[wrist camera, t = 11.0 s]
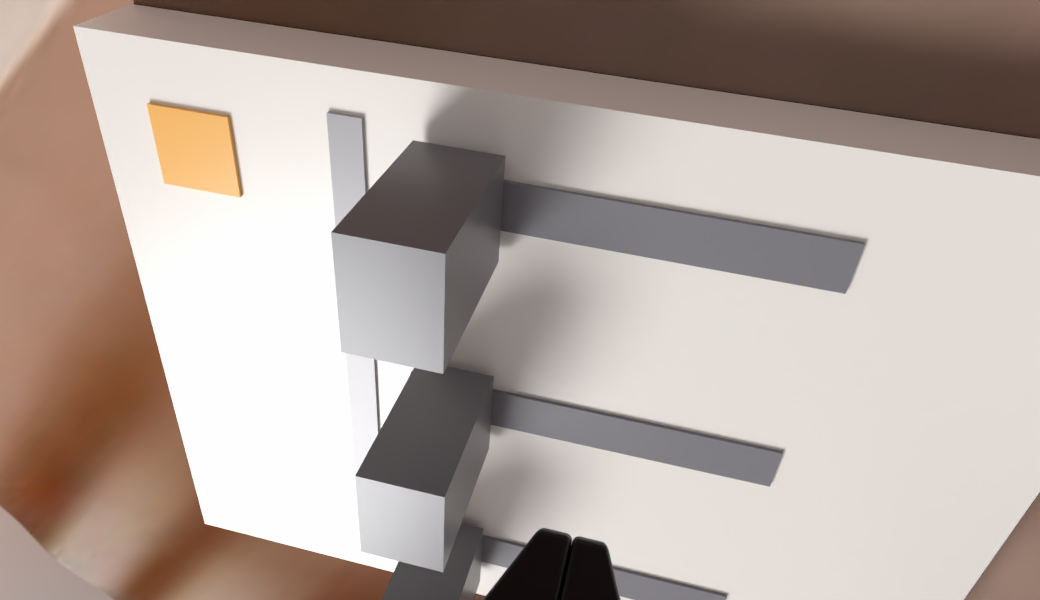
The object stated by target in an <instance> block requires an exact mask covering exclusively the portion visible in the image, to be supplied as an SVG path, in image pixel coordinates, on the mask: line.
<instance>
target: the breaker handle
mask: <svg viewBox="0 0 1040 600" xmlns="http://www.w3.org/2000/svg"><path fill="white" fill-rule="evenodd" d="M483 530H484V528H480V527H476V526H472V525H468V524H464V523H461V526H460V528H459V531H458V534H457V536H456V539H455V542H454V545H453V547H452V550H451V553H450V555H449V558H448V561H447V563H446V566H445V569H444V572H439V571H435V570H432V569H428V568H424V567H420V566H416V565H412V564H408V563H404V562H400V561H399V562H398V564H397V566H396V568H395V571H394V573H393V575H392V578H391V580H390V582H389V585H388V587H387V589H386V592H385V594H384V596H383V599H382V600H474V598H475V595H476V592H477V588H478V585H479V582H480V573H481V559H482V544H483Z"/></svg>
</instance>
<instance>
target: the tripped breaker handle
mask: <svg viewBox="0 0 1040 600" xmlns="http://www.w3.org/2000/svg"><path fill="white" fill-rule="evenodd" d="M504 170H505V156H503V155H497V154H492V153H486V152H480V151H474V150H468V149H462V148H456V147H450V146H444V145H438V144H432V143H426V142H420V141H414V140H413V141H412V142H411V143H410V144H409V145H408V146H407V148H406V149H405V150H404V151H403V152H402V153H401V154H400V155H399V157H398V158H397V159H396V160H395V161H394V162H393V163H392V164H391V166H390V167H389V168H388V169H387V170H386V171H385V172H384V173H383V175H382V176H381V177H380V178H379V179H378V180H377V181H376V182H375V183H374V185H373V186H372V187H371V188H370V189H369V190H368V191H367V192H366V194H365V195H364V196H363V197H362V198H361V199H360V200H359V201H358V203H357V204H356V205H355V206H354V207H353V208H352V209H351V210H350V211H349V213H348V214H347V215H346V216H345V217H344V218H343V219H342V220H341V222H340V223H339V224H338V225H337V226H336V227H335V228H334V229H333V231H332V232H331V238H332V250H333V261H334V273H335V285H336V297H337V309H338V320H339V332H340V344H341V352H343V353H348V354H352V355H357V356H362V357H366V358H371V359H376V360H380V361H385V362H390V363H394V364H399V365H404V366H408V367H413V368H418V369H422V370H427V371H432V372H436V373H441V374H444V372H445V370H446V368H447V366H448V364H449V361H450V359H451V357H452V355H453V353H454V351H455V349H456V347H457V345H458V343H459V341H460V339H461V337H462V335H463V333H464V331H465V329H466V327H467V325H468V323H469V321H470V319H471V317H472V315H473V313H474V311H475V309H476V307H477V305H478V303H479V301H480V299H481V297H482V295H483V293H484V290H485V288H486V286H487V284H488V282H489V280H490V278H491V276H492V274H493V272H494V270H495V268H496V266H497V264H498V262H499V247H500V231H501V216H502V201H503V185H504Z"/></svg>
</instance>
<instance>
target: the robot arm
mask: <svg viewBox="0 0 1040 600" xmlns="http://www.w3.org/2000/svg"><path fill="white" fill-rule="evenodd" d="M483 600H621V599H620V595H619V591H618V586H617V582H616V578H615V574H614V570H613V565H612V561H611V557H610V553H609V549H608V547H607V545H606V544H605V543H604V542H602V541H598V540H594V539H590V538H585V537H581V536H577V537H575V538H574V539H573V541H572V537H571V536H570V535H569V534H568V533H564V532H560V531H556V530H552V529H548V528H541V529H539V530H538V531H537V532H536V533H535V534H534V535H533V537H532V538H531V539H530V540H529V542H528V543H527V544H526V545H525V547H524V548H523V549H522V550H521V552H520V553H519V554H518V556H517V557H516V558H515V559H514V561H513V562H512V563H511V564H510V566H509V567H508V568H507V570H506V571H505V572H504V573H503V575H502V576H501V577H500V578H499V580H498V581H497V582H496V583H495V585H494V586H493V587H492V589H491V590H490V591H489V592H488V594H487V595H486V596H485V597H484V599H483Z"/></svg>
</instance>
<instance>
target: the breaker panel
mask: <svg viewBox="0 0 1040 600" xmlns="http://www.w3.org/2000/svg"><path fill="white" fill-rule="evenodd" d="M73 27H74V31H75V35H76V39H77V42H78V46H79V50H80V54H81V57H82V61H83V65H84V69H85V73H86V76H87V80H88V84H89V88H90V91H91V95H92V99H93V103H94V107H95V110H96V114H97V118H98V122H99V125H100V129H101V133H102V137H103V141H104V144H105V148H106V152H107V156H108V159H109V163H110V167H111V171H112V175H113V178H114V182H115V186H116V190H117V193H118V197H119V201H120V205H121V209H122V212H123V216H124V220H125V224H126V227H127V231H128V235H129V239H130V243H131V246H132V250H133V254H134V258H135V261H136V265H137V269H138V273H139V277H140V280H141V284H142V288H143V292H144V295H145V299H146V303H147V307H148V311H149V314H150V318H151V322H152V326H153V329H154V333H155V337H156V341H157V345H158V348H159V352H160V356H161V360H162V363H163V367H164V371H165V375H166V379H167V382H168V386H169V390H170V394H171V397H172V401H173V405H174V409H175V413H176V416H177V420H178V424H179V428H180V431H181V435H182V439H183V443H184V447H185V450H186V454H187V458H188V462H189V465H190V469H191V473H192V477H193V481H194V484H195V488H196V492H197V496H198V499H199V503H200V507H201V511H202V515H203V518H204V522H205V524H209V525H212V526H216V527H220V528H224V529H228V530H232V531H236V532H240V533H244V534H247V535H251V536H255V537H259V538H263V539H267V540H271V541H275V542H279V543H282V544H286V545H290V546H294V547H298V548H302V549H306V550H310V551H314V552H317V553H321V554H325V555H329V556H333V557H337V558H341V559H345V560H348V561H352V562H356V563H360V564H364V565H368V566H372V567H376V568H380V569H383V570H387V571H391V572H394V571H395V568H396V566H397V564H398V562H399V561H396V560H392V559H388V558H384V557H380V556H377V555H373V554H369V553H365V552H361V544H360V532H359V520H358V507H357V495H356V483H355V475H356V473H357V471H358V470H359V468H360V466H361V464H362V462H363V460H364V459H365V457H366V455H367V453H368V451H369V449H370V448H371V446H372V444H373V442H374V440H375V438H376V437H377V435H378V433H379V431H380V429H381V427H382V426H383V424H384V422H385V420H386V418H387V417H388V415H389V413H390V411H391V409H392V407H393V406H394V404H395V402H396V400H397V398H398V396H399V395H400V393H401V391H402V389H403V387H404V385H405V384H406V382H407V380H408V378H409V376H410V375H411V373H412V371H413V369H414V368H413V367H408V366H404V365H399V364H394V363H390V362H385V361H380V360H376V359H371V358H366V357H362V356H357V355H352V354H348V353H343V352H341V344H340V332H339V320H338V309H337V297H336V285H335V273H334V261H333V250H332V238H331V232H332V231H333V229H334V228H335V227H336V226H337V225H338V224H339V223H340V222H341V220H342V219H343V218H344V217H345V216H346V215H347V214H348V213H349V211H350V210H351V209H352V208H353V207H354V206H355V205H356V204H357V203H358V201H359V200H360V199H361V198H362V197H363V196H364V195H365V194H366V192H367V191H368V190H369V189H370V188H371V187H372V186H373V185H374V183H375V182H376V181H377V180H378V179H379V178H380V177H381V176H382V175H383V173H384V172H385V171H386V170H387V169H388V168H389V167H390V166H391V164H392V163H393V162H394V161H395V160H396V159H397V158H398V157H399V155H400V154H401V153H402V152H403V151H404V150H405V149H406V148H407V146H408V145H409V144H410V143H411V142H412V141H413V140H414V141H420V142H426V143H432V144H438V145H444V146H450V147H456V148H462V149H468V150H474V151H480V152H486V153H492V154H497V155H503V156H505V170H504V185H503V201H502V216H501V231H500V247H499V262H498V264H497V266H496V268H495V270H494V272H493V274H492V276H491V278H490V280H489V282H488V284H487V286H486V288H485V290H484V293H483V295H482V297H481V299H480V301H479V303H478V305H477V307H476V309H475V311H474V313H473V315H472V317H471V319H470V321H469V323H468V325H467V327H466V329H465V331H464V333H463V335H462V337H461V339H460V341H459V343H458V345H457V347H456V349H455V351H454V353H453V355H452V357H451V359H450V361H449V364H448V367H452V368H457V369H462V370H467V371H471V372H476V373H481V374H485V375H490V376H494V383H493V398H492V413H491V427H490V442H489V450H488V453H487V455H486V458H485V461H484V464H483V466H482V469H481V472H480V474H479V477H478V480H477V482H476V485H475V488H474V491H473V493H472V496H471V499H470V501H469V504H468V507H467V509H466V512H465V515H464V518H463V520H462V523H464V524H468V525H472V526H476V527H480V528H484V530H483V544H482V559H481V573H480V582H479V585H478V588H477V592H476V593H477V594H481V595H485V596H486V595H487V594H488V592H489V591H490V590H491V589H492V587H493V586H494V585H495V583H496V582H497V581H498V580H499V578H500V577H501V576H502V575H503V573H504V572H505V571H506V570H507V568H508V567H509V566H510V564H511V563H512V562H513V561H514V559H515V558H516V557H517V556H518V554H519V553H520V552H521V550H522V549H523V548H524V547H525V545H526V544H527V543H528V542H529V540H530V539H531V538H532V537H533V535H534V534H535V533H536V532H537V531H538V530H539V529H541V528H548V529H552V530H556V531H560V532H564V533H568V534H569V535H570V536H571V537H572V541H573V539H574V538H575V537H577V536H581V537H585V538H590V539H594V540H598V541H602V542H604V543H605V544H606V545H607V547H608V549H609V553H610V557H611V561H612V565H613V570H614V574H615V578H616V582H617V586H618V591H619V595H620V599H621V600H964V599H965V597H966V596H967V594H968V593H969V591H970V590H971V589H972V587H973V586H974V584H975V583H976V581H977V580H978V579H979V577H980V576H981V574H982V573H983V572H984V570H985V569H986V567H987V566H988V564H989V563H990V562H991V560H992V559H993V557H994V556H995V555H996V553H997V552H998V550H999V549H1000V547H1001V546H1002V545H1003V543H1004V542H1005V540H1006V539H1007V538H1008V536H1009V535H1010V533H1011V532H1012V530H1013V529H1014V528H1015V526H1016V525H1017V523H1018V522H1019V520H1020V519H1021V518H1022V516H1023V515H1024V513H1025V512H1026V511H1027V509H1028V508H1029V506H1030V505H1031V503H1032V502H1033V501H1034V499H1035V498H1036V496H1037V495H1038V494H1039V492H1040V139H1035V138H1028V137H1021V136H1015V135H1008V134H1001V133H995V132H988V131H981V130H974V129H968V128H961V127H954V126H948V125H941V124H934V123H927V122H921V121H914V120H907V119H901V118H894V117H887V116H880V115H874V114H867V113H860V112H854V111H847V110H840V109H833V108H827V107H820V106H813V105H807V104H800V103H793V102H786V101H780V100H773V99H766V98H759V97H753V96H746V95H739V94H733V93H726V92H719V91H712V90H706V89H699V88H692V87H686V86H679V85H672V84H665V83H659V82H652V81H645V80H639V79H632V78H625V77H618V76H612V75H605V74H598V73H592V72H585V71H578V70H571V69H565V68H558V67H551V66H545V65H538V64H531V63H524V62H518V61H511V60H504V59H498V58H491V57H484V56H477V55H471V54H464V53H457V52H451V51H444V50H437V49H430V48H424V47H417V46H410V45H404V44H397V43H390V42H383V41H377V40H370V39H363V38H357V37H350V36H343V35H336V34H330V33H323V32H316V31H310V30H303V29H296V28H289V27H283V26H276V25H269V24H262V23H256V22H249V21H242V20H236V19H229V18H222V17H215V16H209V15H202V14H195V13H189V12H182V11H175V10H168V9H162V8H155V7H148V6H142V5H135V4H130V5H128V6H125V7H122V8H120V9H117V10H114V11H112V12H109V13H106V14H104V15H101V16H98V17H96V18H93V19H90V20H88V21H85V22H83V23H80V24H77V25H75V26H73Z"/></svg>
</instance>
